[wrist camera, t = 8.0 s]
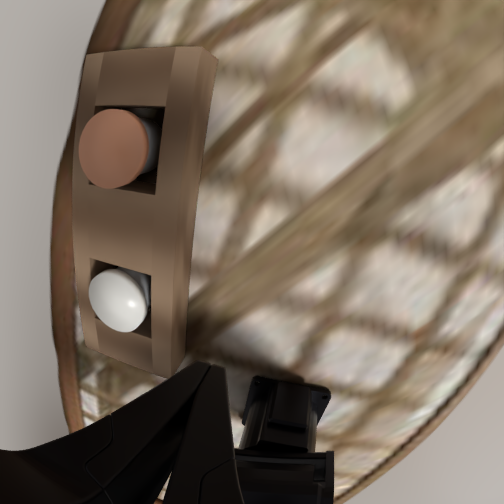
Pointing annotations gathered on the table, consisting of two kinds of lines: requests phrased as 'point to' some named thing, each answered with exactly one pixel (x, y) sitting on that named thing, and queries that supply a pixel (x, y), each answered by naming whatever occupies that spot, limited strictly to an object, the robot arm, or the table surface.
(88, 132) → the terracotta plunger
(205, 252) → the table surface
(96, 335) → the walnut panel
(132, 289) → the white domed knob
